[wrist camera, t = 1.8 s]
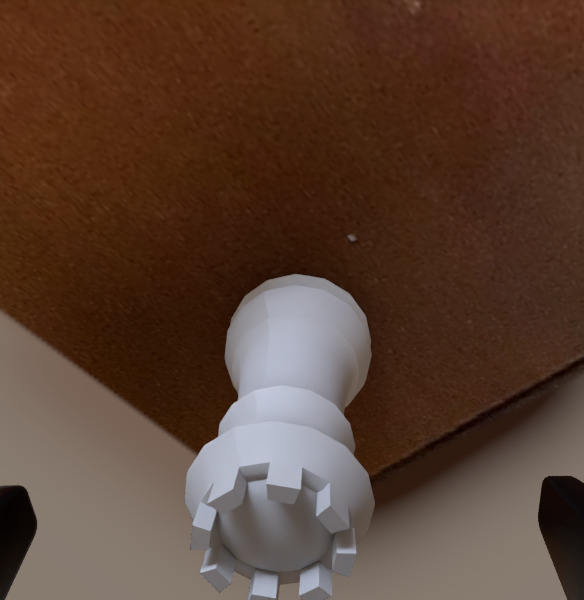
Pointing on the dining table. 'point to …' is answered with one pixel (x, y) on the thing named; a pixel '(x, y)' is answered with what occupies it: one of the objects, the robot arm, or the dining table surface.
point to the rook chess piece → (286, 444)
